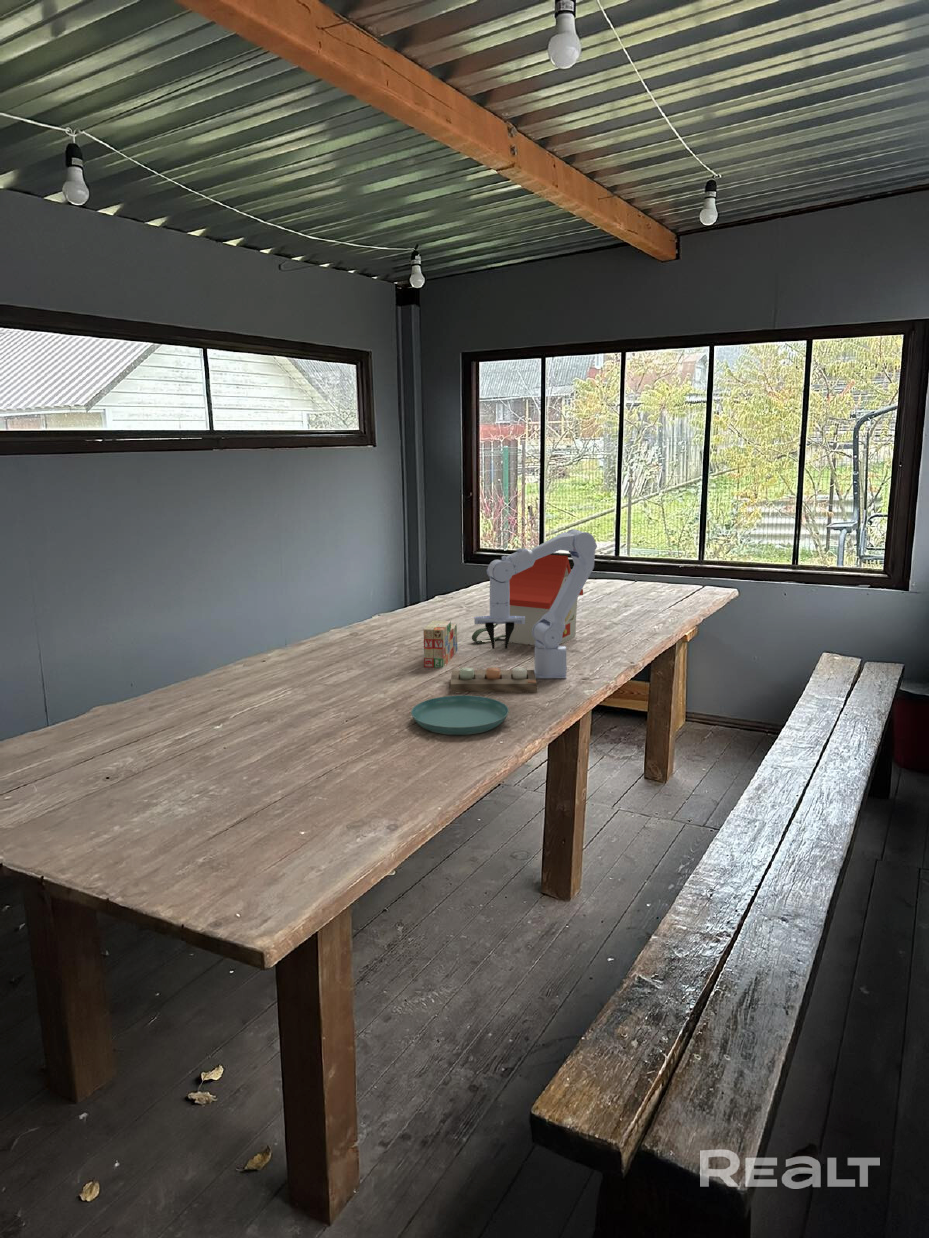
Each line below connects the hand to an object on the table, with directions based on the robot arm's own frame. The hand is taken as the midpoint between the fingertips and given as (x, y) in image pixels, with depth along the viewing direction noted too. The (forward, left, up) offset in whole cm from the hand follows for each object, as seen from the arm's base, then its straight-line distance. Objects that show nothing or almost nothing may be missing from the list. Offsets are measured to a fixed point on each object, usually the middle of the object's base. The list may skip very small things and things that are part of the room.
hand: (499, 648), depth 244 cm
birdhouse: (-13, -52, -10) cm, 55 cm away
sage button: (+10, +6, -8) cm, 14 cm away
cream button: (-5, +6, -8) cm, 11 cm away
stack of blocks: (+18, -24, -10) cm, 32 cm away
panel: (+2, +6, -9) cm, 11 cm away
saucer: (+11, +37, -10) cm, 40 cm away
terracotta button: (+2, +6, -8) cm, 10 cm away
